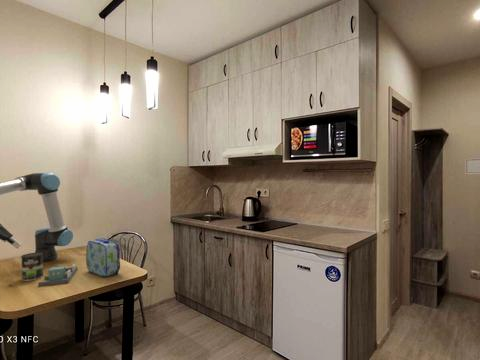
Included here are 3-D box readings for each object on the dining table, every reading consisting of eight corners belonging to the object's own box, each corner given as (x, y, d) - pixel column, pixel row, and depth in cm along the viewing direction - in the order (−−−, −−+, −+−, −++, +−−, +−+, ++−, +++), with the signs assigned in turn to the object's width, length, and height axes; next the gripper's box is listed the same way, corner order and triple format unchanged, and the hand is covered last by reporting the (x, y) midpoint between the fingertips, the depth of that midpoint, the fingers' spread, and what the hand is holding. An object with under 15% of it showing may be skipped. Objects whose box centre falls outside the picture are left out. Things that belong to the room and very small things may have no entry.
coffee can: (41, 279, 167) (41, 255, 167) (20, 282, 162) (19, 257, 162) (44, 274, 176) (43, 251, 176) (23, 277, 172) (23, 253, 172)
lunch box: (122, 274, 173) (122, 240, 173) (105, 279, 164) (104, 243, 164) (101, 267, 189) (100, 235, 188) (84, 271, 180) (84, 238, 180)
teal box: (51, 280, 165) (51, 267, 165) (65, 278, 167) (65, 266, 167) (48, 283, 160) (48, 270, 160) (63, 282, 162) (62, 269, 162)
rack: (52, 272, 179) (51, 264, 179) (77, 269, 183) (77, 261, 183) (38, 286, 156) (38, 277, 155) (67, 283, 160) (67, 273, 160)
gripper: (-19, 221, 157) (18, 248, 163) (-32, 225, 145) (8, 254, 151) (-7, 211, 159) (29, 238, 165) (-20, 214, 147) (20, 243, 152)
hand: (19, 246), depth 158 cm, fingers closed
